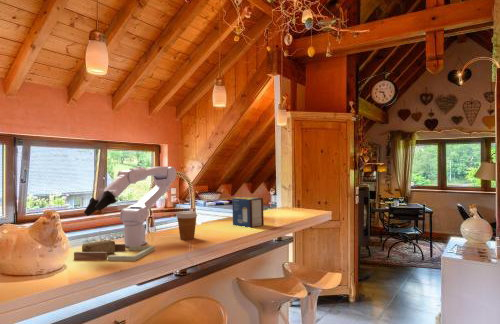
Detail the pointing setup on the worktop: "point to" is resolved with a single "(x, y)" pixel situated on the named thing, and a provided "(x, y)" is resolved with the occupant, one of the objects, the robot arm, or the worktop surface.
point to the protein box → (248, 211)
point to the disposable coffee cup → (186, 225)
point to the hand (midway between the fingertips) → (91, 211)
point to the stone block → (99, 247)
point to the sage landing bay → (133, 258)
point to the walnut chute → (96, 254)
